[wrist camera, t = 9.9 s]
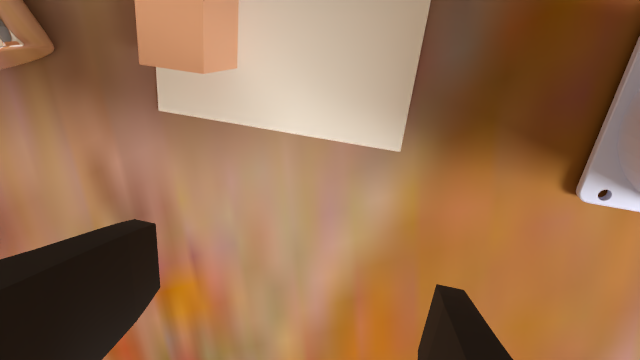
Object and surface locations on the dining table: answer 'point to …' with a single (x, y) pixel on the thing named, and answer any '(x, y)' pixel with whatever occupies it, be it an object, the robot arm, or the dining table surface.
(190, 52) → the lid
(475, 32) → the dining table surface
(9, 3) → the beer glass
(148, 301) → the robot arm
